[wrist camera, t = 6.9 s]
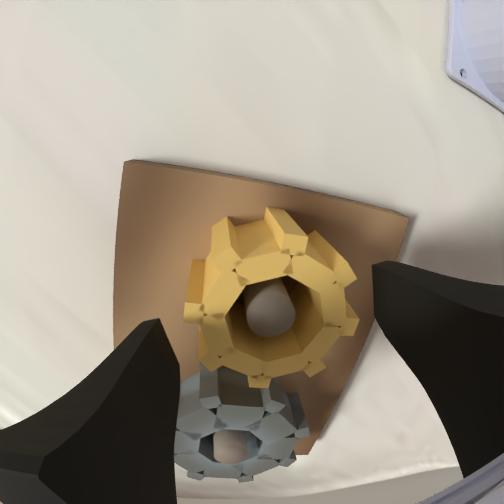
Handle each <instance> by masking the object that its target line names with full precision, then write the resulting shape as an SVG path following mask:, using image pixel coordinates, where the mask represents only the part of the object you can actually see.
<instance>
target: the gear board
mask: <svg viewBox="0 0 504 504" xmlns="http://www.w3.org/2000/svg"><path fill="white" fill-rule="evenodd" d="M266 207H271V208H277V209H283V210H285V211H286V212H287V213H288V215H289V216H290V217H291V218H292V219H293V220H294V221H295V222H296V223H297V225H298V226H299V227H300V228H301V229H302V230H303V231H304V232H305V234H306V235H308V234H310V233H311V232H313V231H314V230H316V231H317V232H318V233H319V234H320V235H321V236H322V237H323V238H324V239H325V240H326V241H327V242H328V243H329V244H330V245H331V246H332V247H333V248H334V249H335V250H336V251H337V252H338V253H339V254H340V255H341V256H342V257H343V258H344V259H345V260H346V261H347V262H348V264H349V265H350V267H351V269H352V271H353V272H354V274H355V276H356V278H357V279H356V280H355V281H353V282H352V283H350V284H349V285H348V286H346V287H345V288H344V293H345V300H346V301H347V302H348V304H349V305H350V306H351V308H352V309H353V310H354V312H355V313H356V314H357V316H358V317H359V318H360V319H359V322H358V325H357V328H356V330H355V333H354V336H340V337H339V338H338V339H337V340H336V341H335V343H334V344H333V345H332V346H331V347H330V349H329V350H328V351H327V352H326V353H325V354H324V356H323V357H322V359H323V362H324V364H325V366H326V368H325V369H323V370H322V371H320V372H318V373H317V374H315V375H313V376H312V377H309V376H308V375H307V374H306V373H305V372H304V371H303V370H301V371H298V372H294V373H290V374H286V375H282V376H278V377H274V378H271V381H270V385H269V388H253V387H249V382H248V375H245V374H243V373H240V372H238V371H235V370H233V369H231V368H228V367H226V366H221V367H219V368H217V369H216V370H214V371H212V372H210V371H209V370H208V369H207V368H206V367H205V366H204V365H203V364H202V363H201V362H200V361H199V360H198V347H199V329H200V324H196V323H188V322H183V318H184V307H185V299H186V293H187V287H188V281H189V275H190V269H191V264H192V259H193V260H201V261H205V260H206V259H207V257H208V255H209V254H210V252H211V238H212V227H213V226H214V225H215V224H217V223H218V222H219V221H221V220H222V219H224V218H225V217H226V216H227V217H228V218H229V220H230V221H231V222H232V224H233V225H234V226H239V225H243V224H247V223H252V222H256V221H260V220H264V217H265V211H266ZM408 222H409V218H407V217H405V216H403V215H401V214H399V213H397V212H394V211H391V210H387V209H383V208H379V207H376V206H372V205H368V204H364V203H360V202H356V201H352V200H348V199H344V198H339V197H335V196H331V195H327V194H322V193H318V192H313V191H309V190H304V189H300V188H295V187H290V186H286V185H281V184H276V183H271V182H266V181H261V180H256V179H251V178H246V177H240V176H235V175H229V174H224V173H218V172H212V171H206V170H200V169H194V168H188V167H181V166H175V165H168V164H161V163H154V162H147V161H139V160H129V161H125V162H124V166H123V174H122V181H121V190H120V199H119V208H118V219H117V231H116V245H115V263H114V293H113V334H114V350H115V349H116V347H117V346H118V345H119V344H120V343H121V342H122V341H123V340H124V339H125V338H126V337H127V336H128V335H129V334H130V333H131V332H132V331H133V330H134V329H135V328H136V327H137V326H138V325H139V324H140V323H141V322H143V321H147V320H151V319H156V318H160V320H161V323H162V325H163V327H164V330H165V332H166V334H167V337H168V339H169V341H170V344H171V346H172V348H173V351H174V353H175V355H176V357H177V360H178V362H179V364H180V398H179V407H178V416H177V425H176V434H175V443H174V462H175V463H176V464H178V465H179V466H181V467H183V468H184V469H186V470H188V475H187V477H190V478H193V479H197V480H202V479H203V478H204V477H215V478H236V479H238V481H239V483H240V482H247V481H253V476H254V475H256V474H259V473H262V472H264V471H267V470H269V469H272V468H274V467H277V466H279V465H280V466H285V467H288V466H289V465H291V464H292V463H293V462H295V461H296V460H297V459H296V456H295V455H308V454H309V452H310V450H311V449H312V447H313V445H314V443H315V442H316V440H317V438H318V436H319V435H320V433H321V431H322V429H323V427H324V425H325V424H326V422H327V420H328V418H329V416H330V414H331V412H332V410H333V409H334V407H335V405H336V403H337V401H338V399H339V397H340V395H341V393H342V391H343V389H344V387H345V385H346V383H347V380H348V378H349V376H350V374H351V372H352V370H353V368H354V366H355V363H356V361H357V359H358V357H359V355H360V352H361V350H362V348H363V345H364V343H365V341H366V339H367V336H368V334H369V331H370V329H371V327H372V324H373V322H374V319H375V316H374V302H373V281H372V265H373V264H376V263H380V262H383V261H387V260H388V261H394V262H396V260H397V257H398V254H399V251H400V248H401V244H402V241H403V238H404V235H405V232H406V228H407V225H408ZM298 282H299V281H297V280H296V279H294V278H292V277H290V276H288V275H286V276H282V277H278V278H274V279H270V280H266V281H262V282H257V283H253V284H249V285H246V286H245V288H244V289H243V290H242V292H241V293H240V295H239V296H238V298H237V299H236V302H238V303H240V304H242V305H244V306H245V311H246V317H247V322H248V326H249V327H250V329H251V330H252V331H253V332H254V333H255V334H257V335H259V336H262V337H276V336H279V335H281V334H283V333H285V332H286V331H288V330H289V329H290V328H291V326H292V325H293V323H294V320H295V309H294V306H293V304H292V302H291V300H290V297H289V294H290V293H291V292H292V290H293V289H294V288H295V286H296V285H297V283H298Z"/></svg>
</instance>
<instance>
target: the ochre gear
mask: <svg viewBox="0 0 504 504" xmlns="http://www.w3.org/2000/svg"><path fill="white" fill-rule="evenodd" d="M286 275H288V276H290V277H292V278H294V279H296V280H297V281H299V282H298V283H297V285H296V286H295V288H294V289H293V290H292V292H291V293H290V294H289V297H290V300H291V302H292V304H293V306H294V309H295V320H294V323H293V325H292V326H291V328H290V329H289V330H288V331H286V332H285V333H283V334H281V335H279V336H276V337H262V336H259V335H257V334H255V333H254V332H253V331H252V330H251V329H250V327H249V326H248V322H247V317H246V311H245V306H244V305H242V304H240V303H238V302H236V299H237V298H238V296H239V295H240V293H241V292H242V290H243V289H244V288H245V286H246V285H249V284H253V283H257V282H262V281H266V280H270V279H274V278H278V277H282V276H286ZM356 279H357V278H356V276H355V274H354V272H353V271H352V269H351V267H350V265H349V264H348V262H347V261H346V260H345V259H344V258H343V257H342V256H341V255H340V254H339V253H338V252H337V251H336V250H335V249H334V248H333V247H332V246H331V245H330V244H329V243H328V242H327V241H326V240H325V239H324V238H323V237H322V236H321V235H320V234H319V233H318V232H317V231H316V230H314V231H313V232H311V233H310V234H308V235H306V234H305V232H304V231H303V230H302V229H301V228H300V227H299V226H298V225H297V223H296V222H295V221H294V220H293V219H292V218H291V217H290V216H289V215H288V213H287V212H286V211H285V210H283V209H277V208H271V207H266V211H265V217H264V220H260V221H256V222H252V223H247V224H243V225H239V226H234V225H233V224H232V222H231V221H230V220H229V218H228V217H227V216H226V217H225V218H224V219H222V220H221V221H219V222H218V223H217V224H215V225H214V226H213V227H212V238H211V252H210V254H209V255H208V257H207V259H206V260H205V261H201V260H193V259H192V264H191V269H190V275H189V281H188V287H187V293H186V299H185V307H184V318H183V322H188V323H196V324H200V329H199V347H198V360H199V361H200V362H201V363H202V364H203V365H204V366H205V367H206V368H207V369H208V370H209V371H210V372H212V371H214V370H216V369H217V368H219V367H221V366H226V367H228V368H231V369H233V370H235V371H238V372H240V373H243V374H245V375H248V382H249V387H253V388H269V385H270V381H271V378H274V377H278V376H282V375H286V374H290V373H294V372H298V371H301V370H303V371H304V372H305V373H306V374H307V375H308V376H309V377H312V376H313V375H315V374H317V373H318V372H320V371H322V370H323V369H325V368H326V366H325V364H324V362H323V359H322V357H323V356H324V354H325V353H326V352H327V351H328V350H329V349H330V347H331V346H332V345H333V344H334V343H335V341H336V340H337V339H338V338H339V337H340V336H354V333H355V330H356V328H357V325H358V322H359V319H360V318H359V317H358V316H357V314H356V313H355V312H354V310H353V309H352V308H351V306H350V305H349V304H348V302H347V301H346V300H345V293H344V288H345V287H346V286H348V285H349V284H350V283H352V282H353V281H355V280H356Z"/></svg>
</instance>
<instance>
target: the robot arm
mask: <svg viewBox="0 0 504 504" xmlns="http://www.w3.org/2000/svg"><path fill="white" fill-rule="evenodd" d="M460 71H461V73H462V77H461V74H460ZM446 72H447V74H448V76H449V77H450V78H452V79H453V80H455V81H457V82H458V83H460V84H462V85H463V86H465V87H466V88H468V89H470V90H471V91H473V92H474V93H476V94H477V95H479V96H480V97H482V98H483V99H485V100H486V101H488V102H489V103H491V104H492V105H494V106H495V107H496V108H498V109H499V110H501V111H502V112H503V113H504V0H450V9H449V31H448V45H447V56H446ZM372 281H373V302H374V316H375V318H376V320H377V322H378V324H379V326H380V328H381V329H382V331H383V333H384V334H385V336H386V338H387V339H388V340H389V342H390V343H391V344H392V346H393V347H394V348H395V350H396V351H397V352H398V354H399V355H400V356H401V357H402V359H403V360H404V361H405V363H406V364H407V365H408V367H409V368H410V369H411V370H412V372H413V373H414V374H415V376H416V377H417V378H418V380H419V381H420V383H421V384H422V386H423V387H424V389H425V391H426V392H427V394H428V396H429V398H430V400H431V402H432V403H433V405H434V407H435V409H436V411H437V413H438V415H439V417H440V419H441V421H442V423H443V425H444V428H445V430H446V432H447V434H448V437H449V439H450V441H451V444H452V446H453V449H454V451H455V454H456V457H457V460H458V462H459V465H460V468H461V471H462V474H463V478H464V479H463V480H461V481H459V482H458V483H456V484H454V485H452V486H450V487H448V488H446V489H445V490H443V491H441V492H439V493H437V494H435V495H433V496H431V497H429V498H427V499H425V500H423V501H421V502H419V503H416V504H504V286H501V285H491V284H484V283H478V282H472V281H466V280H462V279H458V278H453V277H449V276H445V275H441V274H438V273H434V272H431V271H427V270H424V269H420V268H417V267H413V266H410V265H406V264H403V263H399V262H394V261H388V260H387V261H383V262H380V263H376V264H373V265H372ZM179 398H180V364H179V362H178V360H177V357H176V355H175V353H174V351H173V348H172V346H171V344H170V341H169V339H168V337H167V334H166V332H165V330H164V327H163V325H162V323H161V320H160V318H156V319H151V320H147V321H143V322H141V323H140V324H139V325H138V326H137V327H136V328H135V329H134V330H133V331H132V332H131V333H130V334H129V335H128V336H127V337H126V338H125V339H124V340H123V341H122V342H121V343H120V344H119V345H118V346H117V347H116V349H115V350H114V351H113V352H112V353H111V354H110V355H109V356H108V357H107V358H106V359H105V360H104V361H103V362H102V363H101V364H100V365H99V366H98V367H97V368H95V369H94V370H93V371H92V372H91V373H90V374H89V375H88V376H87V377H86V378H85V379H84V380H82V381H81V382H80V383H79V384H78V385H76V386H75V387H74V388H73V389H71V390H70V391H69V392H67V393H66V394H65V395H63V396H62V397H60V398H59V399H57V400H56V401H54V402H53V403H52V404H50V405H49V406H47V407H46V408H44V409H42V410H41V411H39V412H37V413H36V414H34V415H32V416H30V417H28V418H26V419H24V420H22V421H21V422H19V423H16V424H14V425H12V426H10V427H7V428H5V429H2V430H0V502H2V503H3V504H177V498H176V486H175V470H174V443H175V434H176V425H177V416H178V407H179Z"/></svg>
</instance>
